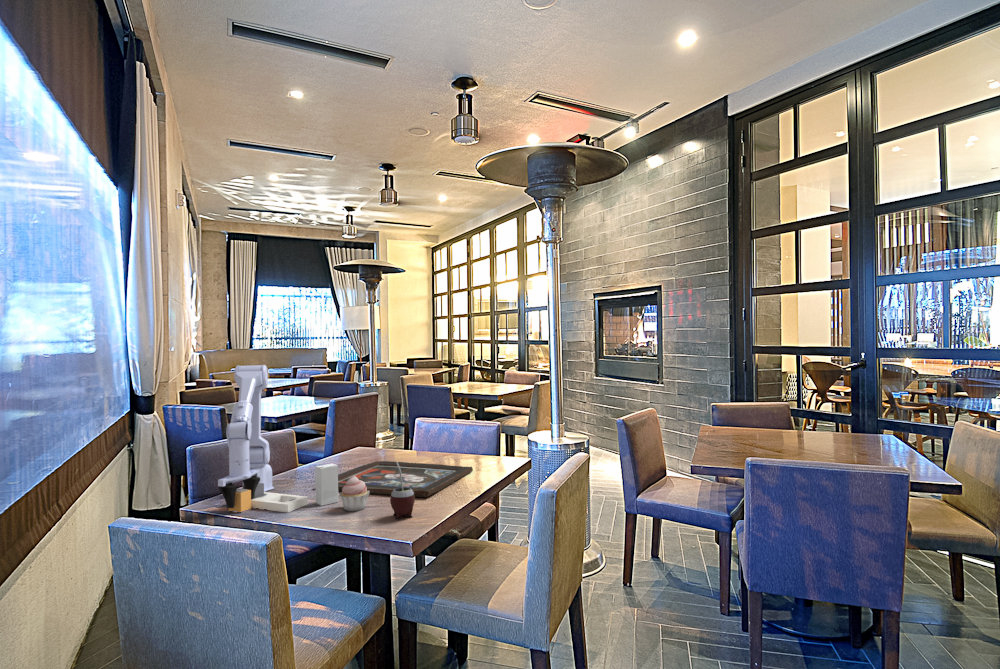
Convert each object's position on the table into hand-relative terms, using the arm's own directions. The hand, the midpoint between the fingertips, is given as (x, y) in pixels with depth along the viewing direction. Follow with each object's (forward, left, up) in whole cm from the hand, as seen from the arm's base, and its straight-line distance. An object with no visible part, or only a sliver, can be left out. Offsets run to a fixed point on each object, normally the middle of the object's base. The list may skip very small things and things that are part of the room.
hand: (239, 504), depth 176 cm
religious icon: (-48, +28, -3) cm, 56 cm away
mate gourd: (-11, +51, -2) cm, 52 cm away
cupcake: (-13, +33, -2) cm, 35 cm away
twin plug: (-8, -2, -2) cm, 8 cm away
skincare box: (-15, +21, -2) cm, 26 cm away
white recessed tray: (-8, +4, -2) cm, 9 cm away
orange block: (0, 0, -2) cm, 2 cm away
